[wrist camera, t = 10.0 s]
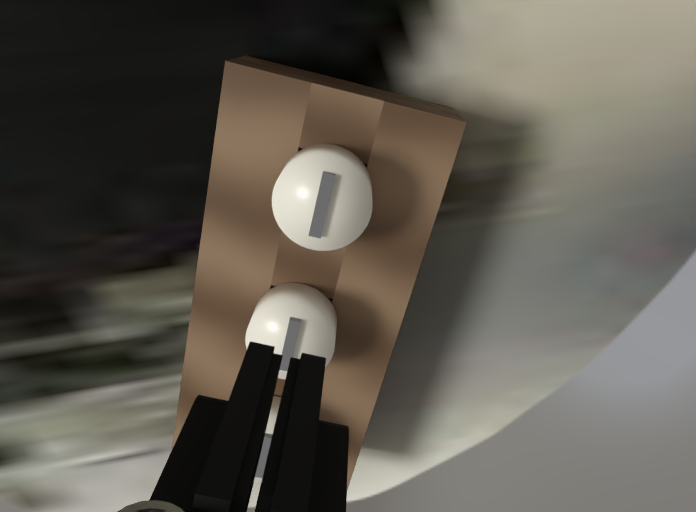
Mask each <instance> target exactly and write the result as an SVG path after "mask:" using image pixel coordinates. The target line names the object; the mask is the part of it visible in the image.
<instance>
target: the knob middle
mask: <svg viewBox="0 0 696 512" xmlns="http://www.w3.org/2000/svg"><path fill="white" fill-rule="evenodd" d="M336 328H337V316H336V312H335V309H334V307H333V305H332V303H331V302H330V300H329V299H328V298H327V297H326V296H325V295H324V294H323V293H322V292H320V291H319V290H317V289H315V288H313V287H311V286H308V285H305V284H299V283H287V284H282V285H278V286H276V287H274V288H272V289H270V290H268V291H267V292H266V293H265V294H264V295H263V296H262V297H261V298H260V299H259V301H258V303H257V305H256V307H255V310H254V312H253V315H252V318H251V320H250V323H249V325H248V328H247V331H246V337H245V344H246V349H247V348H248V345H249V343H250V341H251V342H256V343H260V344H265V345H270V346H274V347H275V348H274V354H279V355H283V357H282V361H281V366H280V370H279V375H278V378H280V379H286V375H287V371H288V366H289V362H290V358H291V357H293V358H297V359H300V357H301V354H302V353H306V354H311V355H315V356H320V357H325V358H326V364H325V367H326V366H327V365H328V363H329V362H330V360H331V358H332V356H333V353H334V349H335V339H336Z"/></svg>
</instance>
